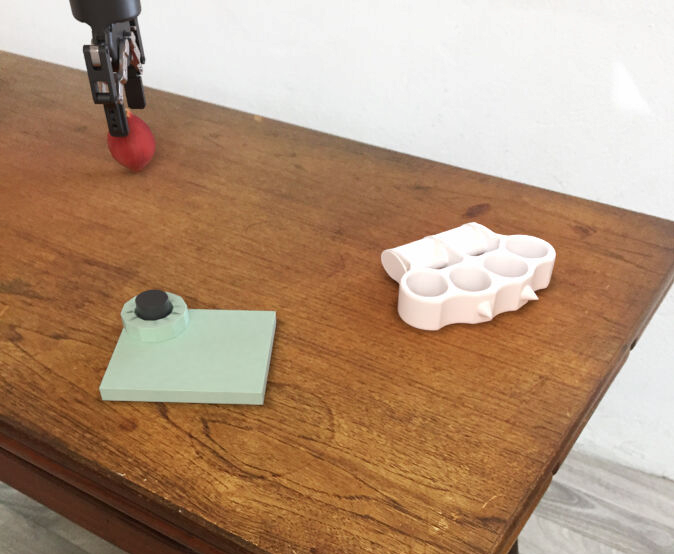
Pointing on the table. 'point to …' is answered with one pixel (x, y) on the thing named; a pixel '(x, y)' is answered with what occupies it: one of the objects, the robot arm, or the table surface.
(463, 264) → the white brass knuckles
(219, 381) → the scale
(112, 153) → the onion
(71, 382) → the table surface
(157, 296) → the button
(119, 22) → the robot arm
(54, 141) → the table surface
